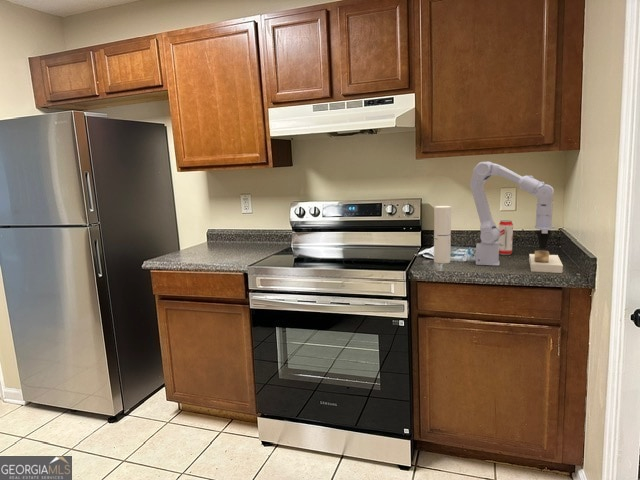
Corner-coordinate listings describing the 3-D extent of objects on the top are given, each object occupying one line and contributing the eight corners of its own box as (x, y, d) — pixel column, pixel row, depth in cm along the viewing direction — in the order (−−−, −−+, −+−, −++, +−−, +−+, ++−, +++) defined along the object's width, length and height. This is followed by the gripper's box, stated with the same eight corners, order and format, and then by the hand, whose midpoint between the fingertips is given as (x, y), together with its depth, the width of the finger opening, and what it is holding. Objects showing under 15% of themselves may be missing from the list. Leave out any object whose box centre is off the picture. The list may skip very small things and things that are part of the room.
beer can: (508, 252, 209) (509, 219, 207) (514, 255, 203) (515, 221, 200) (495, 253, 209) (496, 220, 206) (501, 255, 203) (502, 222, 200)
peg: (534, 269, 176) (535, 252, 174) (533, 266, 180) (533, 250, 179) (549, 270, 174) (550, 253, 173) (547, 267, 179) (548, 250, 177)
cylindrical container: (446, 264, 191) (446, 207, 186) (431, 262, 195) (431, 207, 191) (452, 261, 196) (453, 206, 192) (438, 259, 201) (438, 205, 196)
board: (531, 271, 173) (531, 264, 173) (529, 260, 191) (529, 253, 191) (562, 273, 169) (562, 265, 168) (557, 261, 187) (557, 255, 186)
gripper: (557, 217, 165) (555, 252, 167) (553, 213, 178) (551, 245, 181) (536, 217, 168) (535, 251, 170) (534, 213, 181) (533, 244, 183)
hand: (542, 248), depth 176 cm, fingers closed
